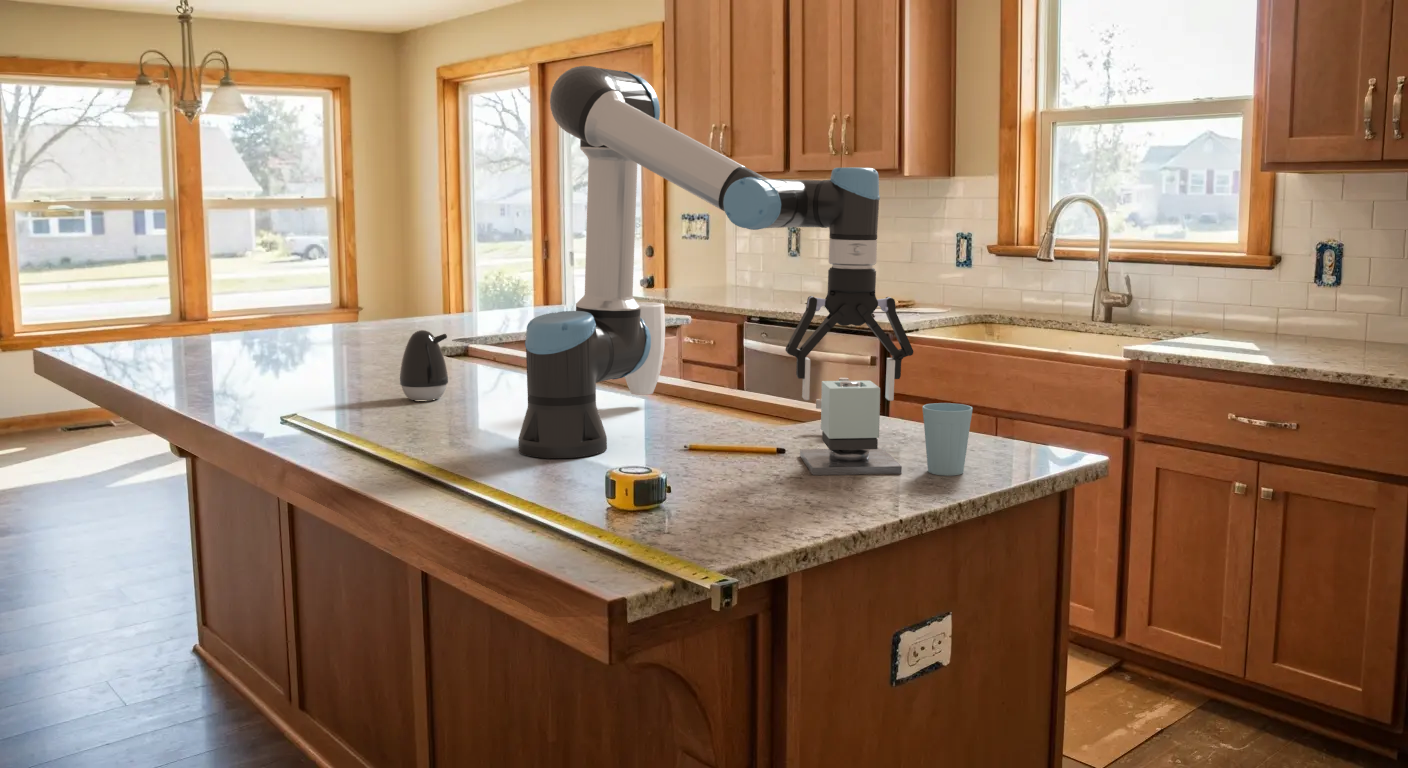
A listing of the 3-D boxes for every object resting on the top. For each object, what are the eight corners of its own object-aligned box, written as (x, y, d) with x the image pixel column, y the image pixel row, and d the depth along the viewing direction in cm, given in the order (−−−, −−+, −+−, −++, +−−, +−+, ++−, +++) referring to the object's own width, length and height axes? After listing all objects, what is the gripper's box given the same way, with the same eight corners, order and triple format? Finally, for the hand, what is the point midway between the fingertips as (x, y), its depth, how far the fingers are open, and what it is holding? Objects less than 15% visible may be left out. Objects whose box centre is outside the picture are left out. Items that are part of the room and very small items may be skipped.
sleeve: (829, 438, 186) (829, 388, 185) (821, 429, 194) (821, 381, 193) (879, 437, 187) (880, 387, 185) (869, 428, 195) (870, 380, 193)
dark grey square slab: (829, 449, 187) (830, 440, 186) (822, 440, 194) (822, 430, 194) (877, 449, 187) (877, 439, 187) (868, 439, 195) (868, 430, 194)
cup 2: (676, 405, 248) (676, 303, 245) (648, 412, 239) (647, 306, 236) (636, 401, 254) (635, 301, 250) (607, 408, 245) (605, 304, 242)
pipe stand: (812, 475, 184) (813, 389, 182) (800, 456, 198) (800, 376, 196) (901, 473, 185) (903, 388, 183) (882, 455, 198) (884, 375, 196)
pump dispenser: (443, 403, 251) (441, 332, 249) (395, 403, 252) (392, 332, 249) (454, 395, 261) (452, 327, 259) (407, 395, 262) (404, 327, 259)
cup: (977, 477, 182) (978, 410, 181) (927, 478, 182) (929, 411, 180) (963, 466, 190) (964, 402, 188) (916, 467, 189) (917, 403, 188)
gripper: (776, 267, 182) (773, 402, 185) (936, 269, 183) (929, 403, 187) (771, 264, 189) (767, 394, 193) (924, 266, 191) (918, 395, 194)
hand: (847, 399), depth 190 cm, fingers open, 13 cm apart
